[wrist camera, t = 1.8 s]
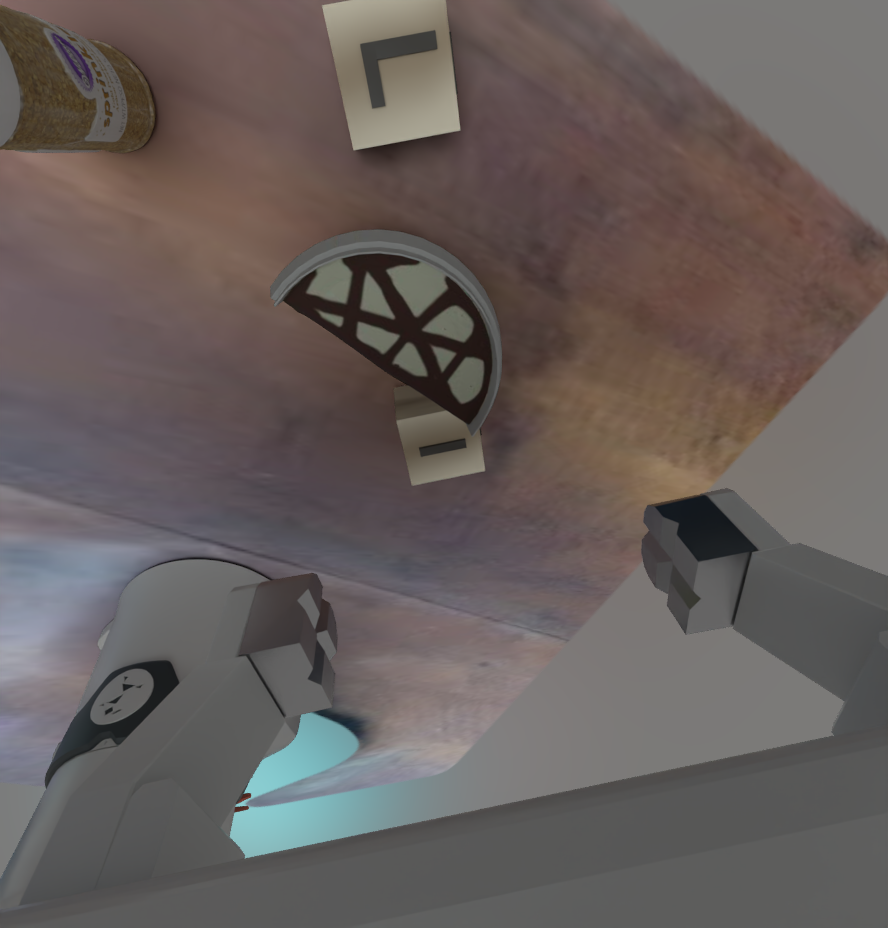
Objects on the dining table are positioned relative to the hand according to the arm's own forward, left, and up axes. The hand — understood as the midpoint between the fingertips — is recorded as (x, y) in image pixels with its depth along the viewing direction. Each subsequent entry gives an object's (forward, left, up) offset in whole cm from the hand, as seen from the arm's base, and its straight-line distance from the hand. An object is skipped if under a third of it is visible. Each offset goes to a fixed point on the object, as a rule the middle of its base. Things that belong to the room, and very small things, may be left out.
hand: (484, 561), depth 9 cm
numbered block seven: (+9, -1, -25) cm, 27 cm away
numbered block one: (-10, 0, -25) cm, 27 cm away
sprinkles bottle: (+11, +13, -25) cm, 31 cm away
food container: (0, 0, -25) cm, 25 cm away
